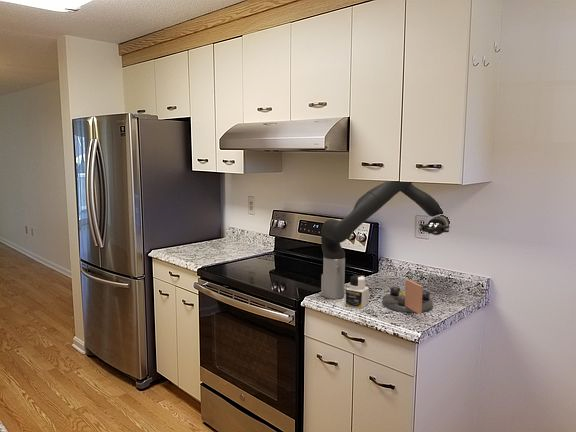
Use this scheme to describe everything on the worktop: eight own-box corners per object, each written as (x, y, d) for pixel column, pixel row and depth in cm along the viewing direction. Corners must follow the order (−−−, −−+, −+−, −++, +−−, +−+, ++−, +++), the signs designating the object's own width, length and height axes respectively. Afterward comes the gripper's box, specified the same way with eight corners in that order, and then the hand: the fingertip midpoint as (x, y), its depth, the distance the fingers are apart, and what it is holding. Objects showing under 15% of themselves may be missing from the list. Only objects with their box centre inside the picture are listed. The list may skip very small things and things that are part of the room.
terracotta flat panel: (395, 303, 184) (396, 277, 183) (404, 302, 186) (405, 276, 184) (415, 314, 171) (416, 286, 170) (425, 313, 173) (426, 285, 171)
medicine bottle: (345, 305, 188) (345, 276, 187) (352, 300, 194) (353, 273, 193) (361, 308, 185) (362, 279, 183) (368, 304, 190) (369, 275, 189)
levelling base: (375, 307, 186) (376, 294, 185) (390, 294, 203) (390, 282, 202) (426, 316, 176) (427, 302, 175) (437, 301, 194) (437, 289, 193)
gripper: (423, 215, 207) (413, 220, 192) (454, 217, 201) (446, 223, 186) (422, 232, 208) (413, 238, 193) (453, 234, 202) (446, 241, 187)
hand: (429, 231), depth 190 cm, fingers closed
